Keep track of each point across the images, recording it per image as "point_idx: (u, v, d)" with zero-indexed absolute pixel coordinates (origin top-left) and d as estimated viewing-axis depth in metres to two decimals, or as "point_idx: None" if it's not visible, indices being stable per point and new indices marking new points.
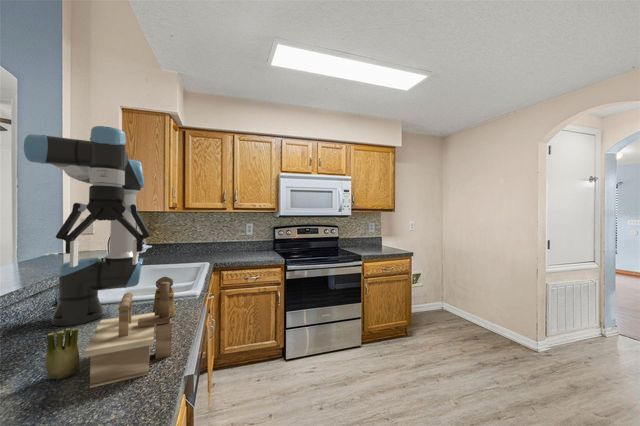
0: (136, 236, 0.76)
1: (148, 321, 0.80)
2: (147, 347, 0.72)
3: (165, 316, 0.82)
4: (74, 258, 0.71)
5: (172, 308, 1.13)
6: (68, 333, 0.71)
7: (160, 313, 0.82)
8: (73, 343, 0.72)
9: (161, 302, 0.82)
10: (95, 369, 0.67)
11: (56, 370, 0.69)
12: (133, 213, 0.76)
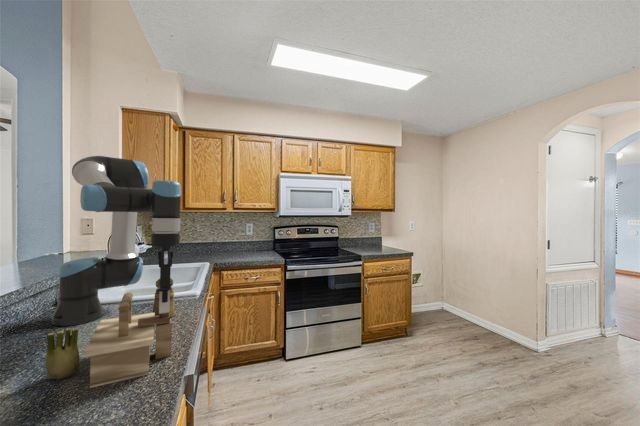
0: None
1: (148, 321, 0.80)
2: (147, 347, 0.72)
3: (165, 316, 0.82)
4: None
5: (172, 308, 1.13)
6: (68, 333, 0.71)
7: None
8: (73, 343, 0.72)
9: None
10: (95, 369, 0.67)
11: (56, 370, 0.69)
12: (160, 265, 0.78)
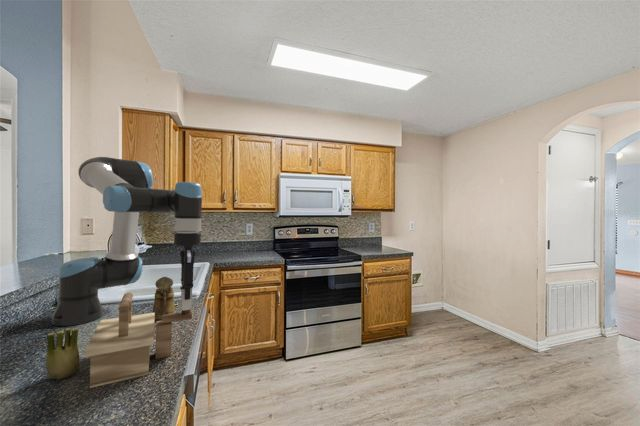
0: (183, 284, 0.83)
1: (171, 318, 0.83)
2: (147, 347, 0.72)
3: (187, 313, 0.85)
4: None
5: (172, 308, 1.13)
6: (68, 333, 0.71)
7: None
8: (73, 343, 0.72)
9: None
10: (95, 369, 0.67)
11: (56, 370, 0.69)
12: (184, 263, 0.81)
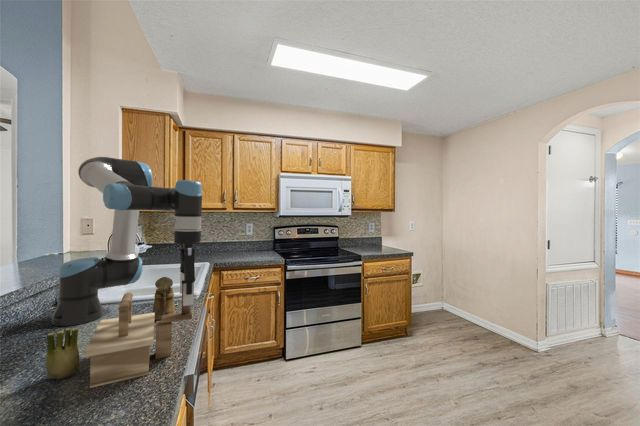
0: (184, 279, 0.80)
1: (171, 318, 0.83)
2: (147, 347, 0.72)
3: (187, 313, 0.85)
4: None
5: (171, 308, 1.13)
6: (68, 333, 0.71)
7: (182, 310, 0.85)
8: (73, 343, 0.72)
9: None
10: (95, 369, 0.67)
11: (56, 370, 0.69)
12: (184, 257, 0.80)
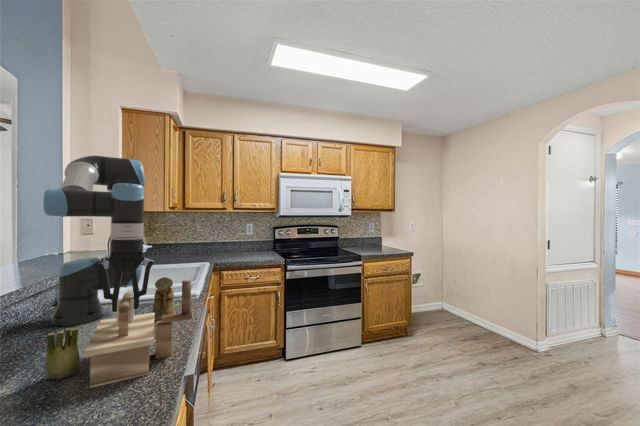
0: (135, 293, 0.79)
1: (171, 318, 0.83)
2: (147, 347, 0.72)
3: (187, 313, 0.85)
4: None
5: (171, 309, 1.12)
6: (68, 333, 0.71)
7: (182, 310, 0.85)
8: (73, 343, 0.72)
9: (183, 299, 0.85)
10: (95, 369, 0.67)
11: (56, 370, 0.69)
12: (147, 268, 0.80)
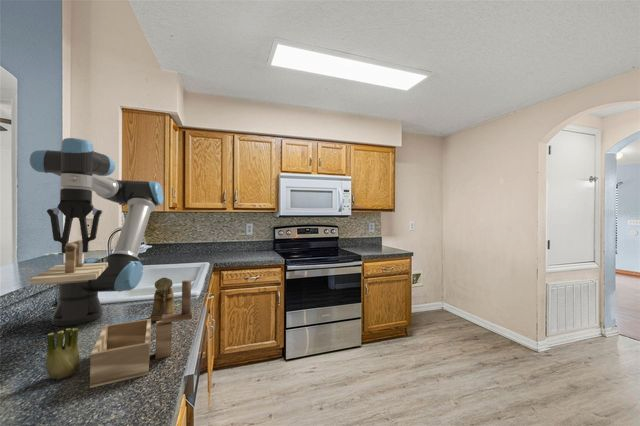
0: (83, 238, 0.88)
1: (171, 318, 0.83)
2: (147, 347, 0.72)
3: (187, 313, 0.85)
4: None
5: (171, 309, 1.11)
6: (68, 333, 0.72)
7: (182, 310, 0.85)
8: (73, 343, 0.72)
9: (183, 299, 0.85)
10: (95, 369, 0.67)
11: (56, 370, 0.69)
12: (95, 217, 0.89)
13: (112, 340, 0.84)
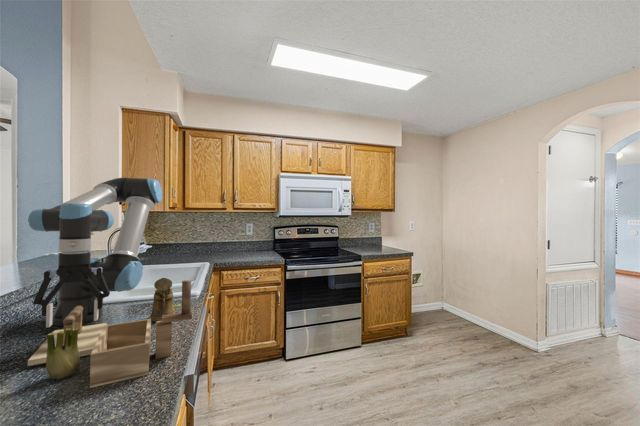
0: (97, 296, 0.89)
1: (171, 318, 0.83)
2: (147, 347, 0.72)
3: (187, 313, 0.85)
4: (50, 319, 0.84)
5: (171, 310, 1.11)
6: (68, 333, 0.72)
7: (182, 310, 0.85)
8: (73, 343, 0.72)
9: (183, 299, 0.85)
10: (95, 369, 0.67)
11: (56, 370, 0.69)
12: (98, 275, 0.89)
13: (112, 340, 0.84)
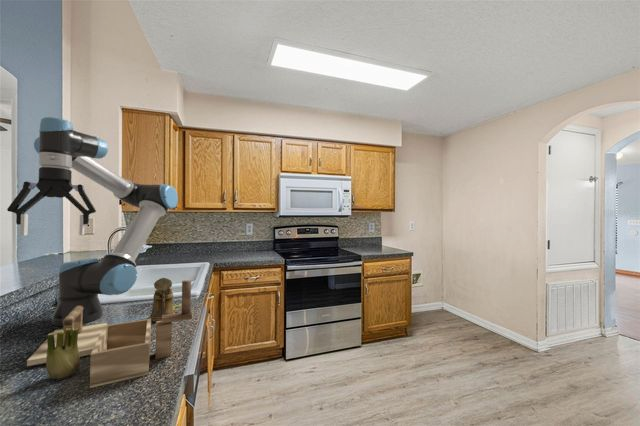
0: (83, 211, 0.91)
1: (171, 318, 0.83)
2: (147, 347, 0.72)
3: (187, 313, 0.85)
4: (24, 228, 0.84)
5: (171, 310, 1.11)
6: (68, 333, 0.72)
7: (182, 310, 0.85)
8: (73, 343, 0.72)
9: (183, 299, 0.85)
10: (95, 369, 0.67)
11: (57, 370, 0.69)
12: (80, 192, 0.90)
13: (112, 340, 0.84)
